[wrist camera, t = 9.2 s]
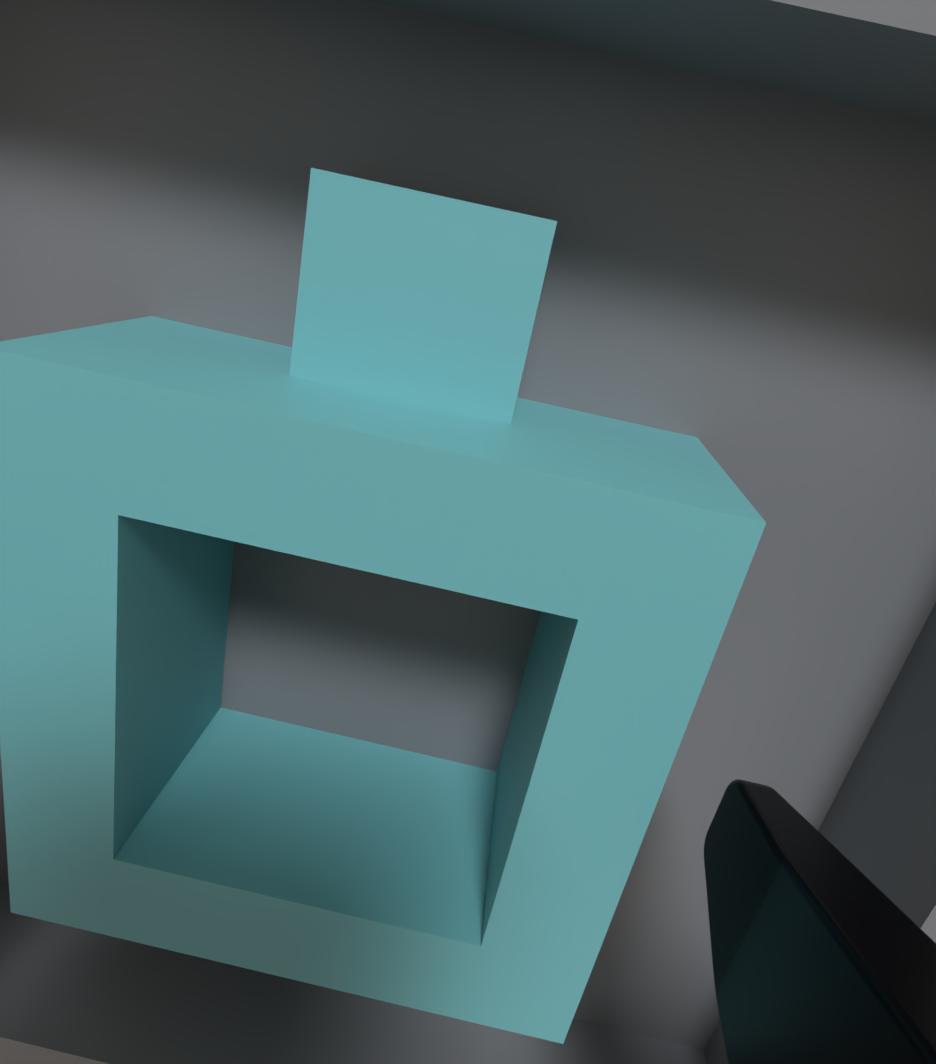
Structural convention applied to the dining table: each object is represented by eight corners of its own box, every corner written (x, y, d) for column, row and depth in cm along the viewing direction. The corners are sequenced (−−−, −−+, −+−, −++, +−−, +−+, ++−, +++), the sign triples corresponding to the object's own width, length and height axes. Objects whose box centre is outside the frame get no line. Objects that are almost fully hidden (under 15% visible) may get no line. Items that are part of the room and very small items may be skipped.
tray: (1229, 113, 8) (1619, 34, 5) (725, 1054, 14) (771, 1258, 11) (-207, -197, 8) (-612, -438, 5) (-80, 860, 14) (-234, 1012, 11)
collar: (752, 269, 8) (860, 279, 5) (558, 852, 12) (562, 1043, 9) (156, 138, 8) (-40, 83, 5) (138, 754, 12) (11, 911, 9)
